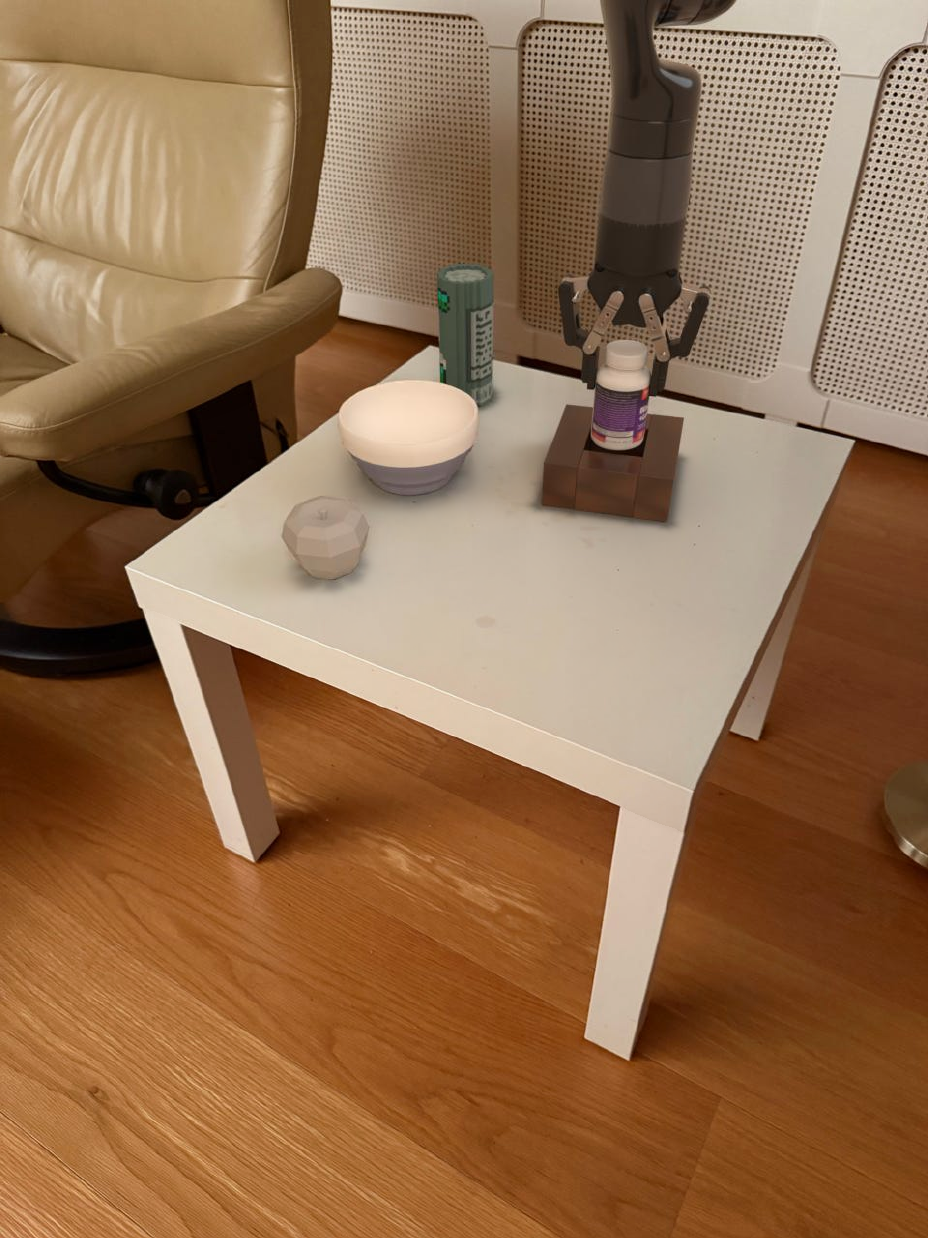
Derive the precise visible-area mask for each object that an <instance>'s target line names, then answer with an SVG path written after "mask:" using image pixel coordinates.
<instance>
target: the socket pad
mask: <svg viewBox="0 0 928 1238" xmlns="http://www.w3.org/2000/svg"><path fill="white" fill-rule="evenodd" d="M592 414H593V406H586V405H585V406H584V405H576V404H565V407H564V410H563V411H562V414H561V416H560V420H559V422H558V425H557V427H556V430H555V433H554V436H553V438H552V441H551V443H550V445H549V449H548V450H547V453H546V457H545V459H544V462H543V471H542V472H543V473H542V488H541V489H542V490H541V491H542V492H541V505H542V506H546V507H547V506H548V507H553V508H562V509H568V510H569V509H570V510H574V511H575V510H576V511H582V512H588V513H589V512H590V513H598V514H603V515H604V514H606V515H611V516H620V517H626V518H636V519H640V520H648V521H656V522H662V523H663V522H664V523H667V522H668V518H669V513H670V507H671V500H672V494H673V489H674V482H675V476H676V472H677V471H676V470H677V464H678V458H679V451H680V446H681V439H682V434H683V427H684V423H685V422H684V421H685V417H682V416H674V415H666V414H665V415H664V414H657V413H648V412H647V417H646V424H645V432H644V437H643V440H642V442H641V444H640V445H638V446H637V447H634V448H632V449H627V450H610V449H606V448H603V447H601V446H599V445H597V444H596V443H595V442H594V441H593V440H592V438H591V424H592Z"/></svg>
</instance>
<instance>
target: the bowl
mask: <svg viewBox="0 0 928 1238" xmlns="http://www.w3.org/2000/svg"><path fill="white" fill-rule="evenodd" d="M337 420H338V421H337V428H338V431H339V436H340V440H341V444H342V446H343V447H344V449H345V450H346V451H347V453H348V455H349V456H350V457H351V459H352V460H353V461H354V462H355V463H356V465H357V466H358V468H359V469H360V471H362V472H363V473H364V474H365V475H367V477H369V478H370V479H371V481H372V482H373V483H374V484H375V485H376V486H377V487H378V488H379V489H382V490H383V491H385V492H387V493H391V494H395V495H401V496H418V495H424V494H429V493H431V492H435V491H437V490H439V489H441V488H443V487H444V486H446V485H447V484H448V483H449V482H450V481H451V479H452V478H453V476H454V474H455V473H456V472H457V471H458V470H459V469H460V468H461V466H462V465H463V464H464V463H465V460H466V458H467V456H468V455H469V454H470V453H471V451H472V449H473V446H474V444H475V443H476V441H477V438H478V435H479V428H480V416H479V406H477V405H476V403H475V401H474V400H473V399H472V398H471V397H470V396H469V395H468V394H466V393H465V392H463V391H462V390H460V389H458V388H455V387H453V386H450V385H447V384H443V383H440V381H432V380H421V379H403V380H394V381H388V382H383V383H378V384H375V385H371V386H369V387H366V388H364V389H362V390H359V391H357V392H356V393H354V394H353V395H351V396H350V397H348V398H347V399H346V400H345V401H344V402H343V403H342V405H341V407H340V408H339V410H338V416H337Z"/></svg>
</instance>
